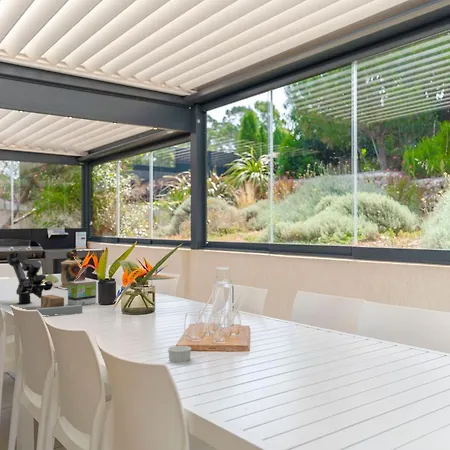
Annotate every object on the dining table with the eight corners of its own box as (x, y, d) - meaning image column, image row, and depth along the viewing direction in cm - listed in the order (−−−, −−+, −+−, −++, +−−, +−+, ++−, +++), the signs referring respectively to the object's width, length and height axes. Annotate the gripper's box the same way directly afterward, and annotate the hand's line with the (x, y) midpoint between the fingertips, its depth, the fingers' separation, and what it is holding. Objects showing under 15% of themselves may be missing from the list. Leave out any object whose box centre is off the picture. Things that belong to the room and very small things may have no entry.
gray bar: (38, 317, 266) (38, 309, 266) (37, 316, 270) (37, 308, 270) (82, 313, 279) (82, 305, 279) (80, 312, 282) (80, 304, 282)
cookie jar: (52, 287, 392) (52, 248, 392) (80, 284, 409) (80, 247, 409) (65, 290, 374) (65, 249, 374) (94, 287, 391) (94, 248, 390)
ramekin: (163, 360, 183) (163, 348, 183) (179, 355, 190) (179, 344, 190) (180, 364, 177) (180, 352, 177) (196, 359, 184) (196, 347, 184)
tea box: (76, 306, 301) (76, 282, 301) (67, 304, 307) (67, 281, 307) (96, 303, 313) (96, 280, 313) (87, 301, 319) (86, 279, 319)
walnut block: (40, 310, 286) (40, 295, 286) (52, 309, 291) (52, 294, 291) (52, 314, 274) (52, 298, 274) (64, 313, 279) (64, 297, 279)
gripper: (22, 270, 291) (29, 291, 283) (51, 268, 304) (59, 288, 296) (16, 282, 297) (24, 302, 289) (46, 280, 310) (53, 299, 302)
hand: (40, 297), depth 294 cm, fingers closed
